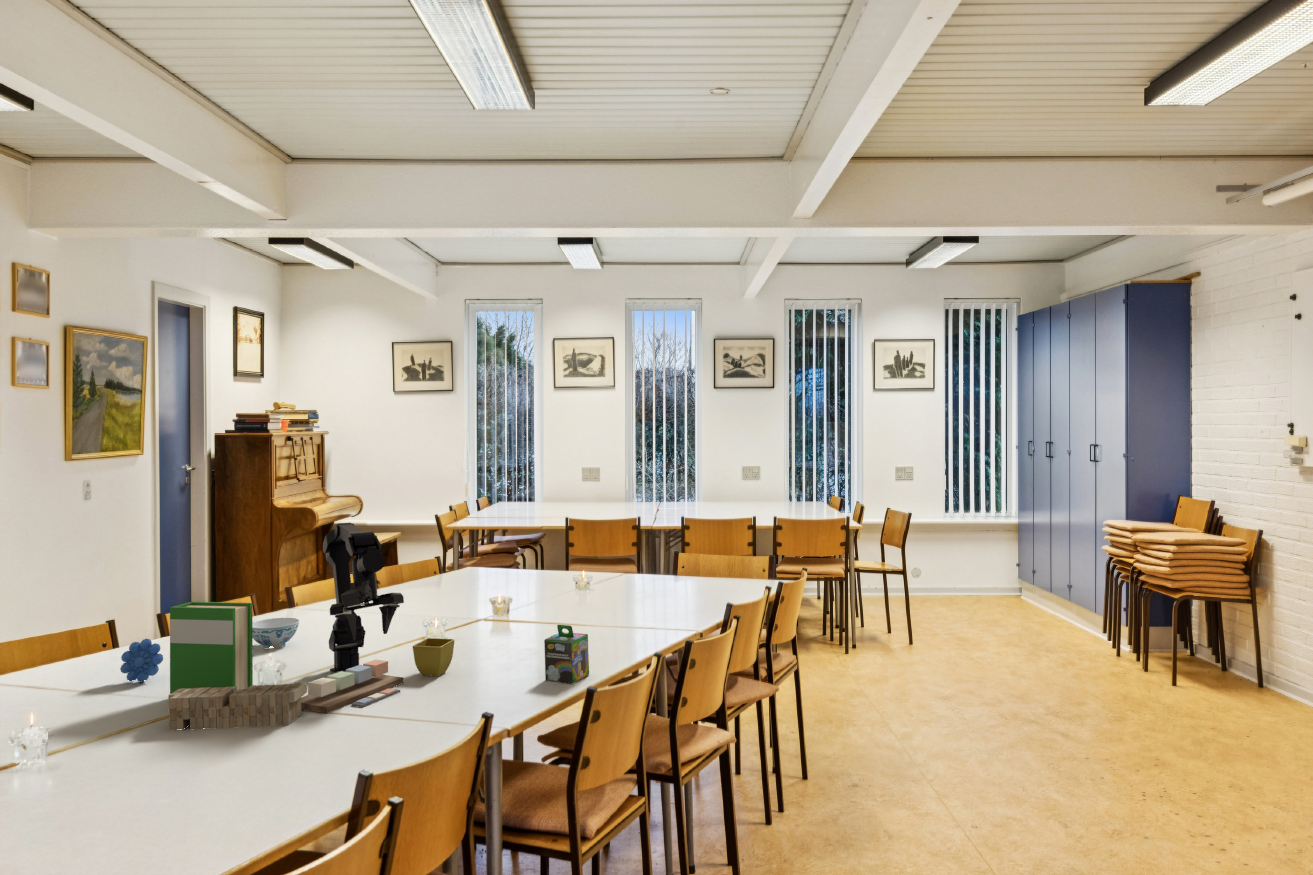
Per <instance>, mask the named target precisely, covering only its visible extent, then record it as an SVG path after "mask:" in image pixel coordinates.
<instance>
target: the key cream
mask: <svg viewBox="0 0 1313 875" xmlns="http://www.w3.org/2000/svg"><path fill="white" fill-rule="evenodd" d="M333 692H336V679H329V678H327V677H321V678H318V679H314V680H311V681H308V683H307V693H308V694H307V695H313V696H319V697H323V696H325V695H328V694H331V693H333Z"/></svg>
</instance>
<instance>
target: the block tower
mask: <svg viewBox="0 0 1313 875" xmlns="http://www.w3.org/2000/svg"><path fill="white" fill-rule="evenodd" d="M307 693H308V683H307V682H294V683H288V684H287V683H286V684H283V683H281V684H280V683H279V684H263V685H262V684H258V685H255V684H253V685H251V686H250V687H248V688H247V689H239V690H237V686H233V687H225V688H224V687H219V688H217V687H215V688H211V687H206V688H192V689H185V688H181V689H178V690H176V691H175V692H173V693H171V694H170V693H169V694H168V697H167V698H168V699H167V700H168V727H169V726H170V727H169V731H170V730H173V731H178V730H177V729H184V728H185V729H187V728H188V727H189V729H195V730H197V729H198V730H204V729H203V728H216V729H217V728H219V729H235V728H234V727H241V728H256V727H257V728H259V727H260V728H261V727H276V726H277V727H278V726H279V727H280V726H290V725H291V724H292V723H293V722H295V720H297V719H298V718H299V716H301V715H302V709H301V697H304V696H305V695H306V694H307ZM188 725H190V726H188ZM187 726H188V727H187ZM186 727H187V728H186ZM185 729H184V730H185Z"/></svg>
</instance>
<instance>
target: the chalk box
mask: <svg viewBox="0 0 1313 875" xmlns="http://www.w3.org/2000/svg"><path fill="white" fill-rule="evenodd" d="M556 628H557V634H553V635H550V637H547V638H545V639H544V641H543V642H544V643H543V644H544V666H545V667H544V669H545V670H544V671H545V672H544V675H545V681H550V682H551V681H552V682H558V683H563V684H565V683H566V684H570V685H571V684H572V685H573V684H575V683H577V682H579V680H582V679H583V678H586V677H587V676H589V675H590V660H589V659H590V658H589V657H590V655H589V634H588V633H579V632H574V631H573V626H572V625H569V624H568V625H566V624H557V626H556ZM563 629H564V630H565V629H566V630H567V631H568V632H564V631H563Z"/></svg>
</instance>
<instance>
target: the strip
mask: <svg viewBox="0 0 1313 875" xmlns="http://www.w3.org/2000/svg"><path fill="white" fill-rule="evenodd" d="M398 692H399V693H401V689H397V688H389V689H386V690H383V691H381V692H379V693H376V694H373V695H371V696H368V697H366V698H363V699H360V700H358V701H356V702H354V703H352V704H351V706H352V707H356V706H358V707H357V708H362V707H363V708H365V707H367V706H370V705H372V703H373V704H375V703H378V702H380V701H383V700H384V699H386V698H387V699H388V698H389V696H390V697H392V696H394V695H397V694H399V693H398ZM379 700H380V701H379Z"/></svg>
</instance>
